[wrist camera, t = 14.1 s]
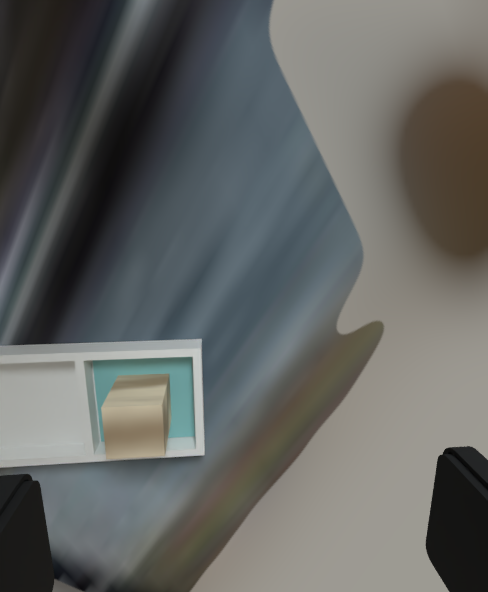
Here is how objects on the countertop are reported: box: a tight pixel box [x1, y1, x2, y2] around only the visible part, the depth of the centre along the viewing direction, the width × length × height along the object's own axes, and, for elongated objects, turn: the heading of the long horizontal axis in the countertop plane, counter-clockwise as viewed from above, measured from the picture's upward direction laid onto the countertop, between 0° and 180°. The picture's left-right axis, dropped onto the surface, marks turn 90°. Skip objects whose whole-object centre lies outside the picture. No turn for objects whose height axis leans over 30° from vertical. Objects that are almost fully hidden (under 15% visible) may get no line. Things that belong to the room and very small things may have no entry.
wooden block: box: [101, 374, 172, 459], centre depth 35 cm, size 5×5×6 cm
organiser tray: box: [0, 339, 205, 468], centre depth 37 cm, size 12×22×2 cm, turn 90°
